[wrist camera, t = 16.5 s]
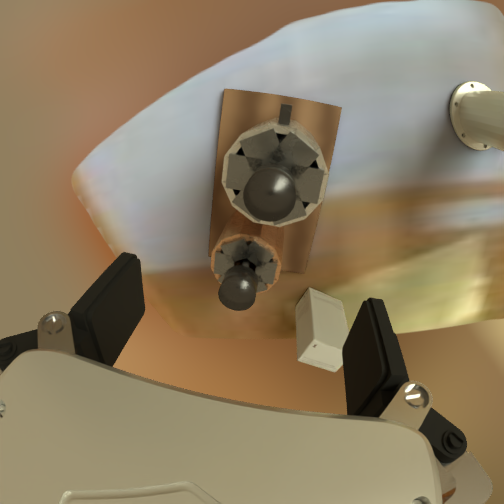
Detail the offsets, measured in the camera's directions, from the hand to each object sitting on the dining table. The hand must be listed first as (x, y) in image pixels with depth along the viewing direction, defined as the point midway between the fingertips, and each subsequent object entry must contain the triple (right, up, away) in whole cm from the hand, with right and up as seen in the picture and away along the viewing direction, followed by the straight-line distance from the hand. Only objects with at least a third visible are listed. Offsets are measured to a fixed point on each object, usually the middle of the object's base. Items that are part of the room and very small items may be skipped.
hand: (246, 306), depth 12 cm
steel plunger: (+4, +16, +29) cm, 33 cm away
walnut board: (+3, +13, +36) cm, 39 cm away
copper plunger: (0, +4, +36) cm, 36 cm away
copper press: (+1, +5, +40) cm, 40 cm away
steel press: (+5, +19, +32) cm, 37 cm away
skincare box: (+14, -8, +47) cm, 49 cm away
